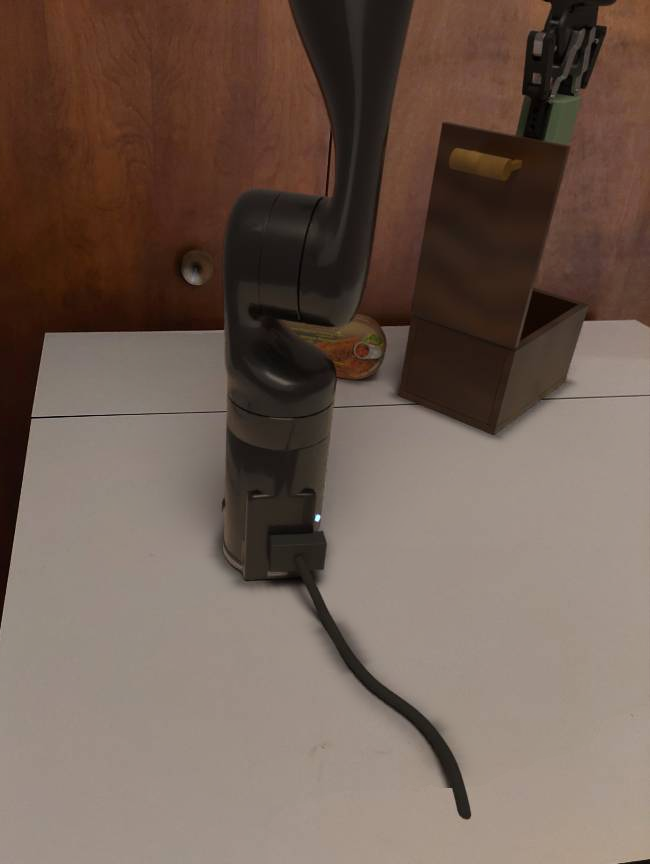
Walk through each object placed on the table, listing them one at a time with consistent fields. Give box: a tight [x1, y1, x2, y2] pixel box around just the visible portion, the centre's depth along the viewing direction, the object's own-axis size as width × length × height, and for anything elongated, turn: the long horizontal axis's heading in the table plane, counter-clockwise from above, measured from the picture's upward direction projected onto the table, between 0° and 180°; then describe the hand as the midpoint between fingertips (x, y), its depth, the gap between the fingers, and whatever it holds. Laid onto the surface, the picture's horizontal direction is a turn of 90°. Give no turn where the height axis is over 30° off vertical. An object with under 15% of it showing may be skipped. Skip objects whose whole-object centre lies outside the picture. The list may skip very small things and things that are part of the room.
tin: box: [283, 313, 388, 380], centre depth 107 cm, size 15×3×8 cm, turn 73°
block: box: [515, 94, 582, 145], centre depth 87 cm, size 4×4×4 cm
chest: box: [397, 287, 590, 435], centre depth 104 cm, size 20×14×11 cm
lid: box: [409, 121, 571, 348], centre depth 86 cm, size 21×14×5 cm
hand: (543, 136), depth 88 cm, fingers closed on block, 4 cm apart
